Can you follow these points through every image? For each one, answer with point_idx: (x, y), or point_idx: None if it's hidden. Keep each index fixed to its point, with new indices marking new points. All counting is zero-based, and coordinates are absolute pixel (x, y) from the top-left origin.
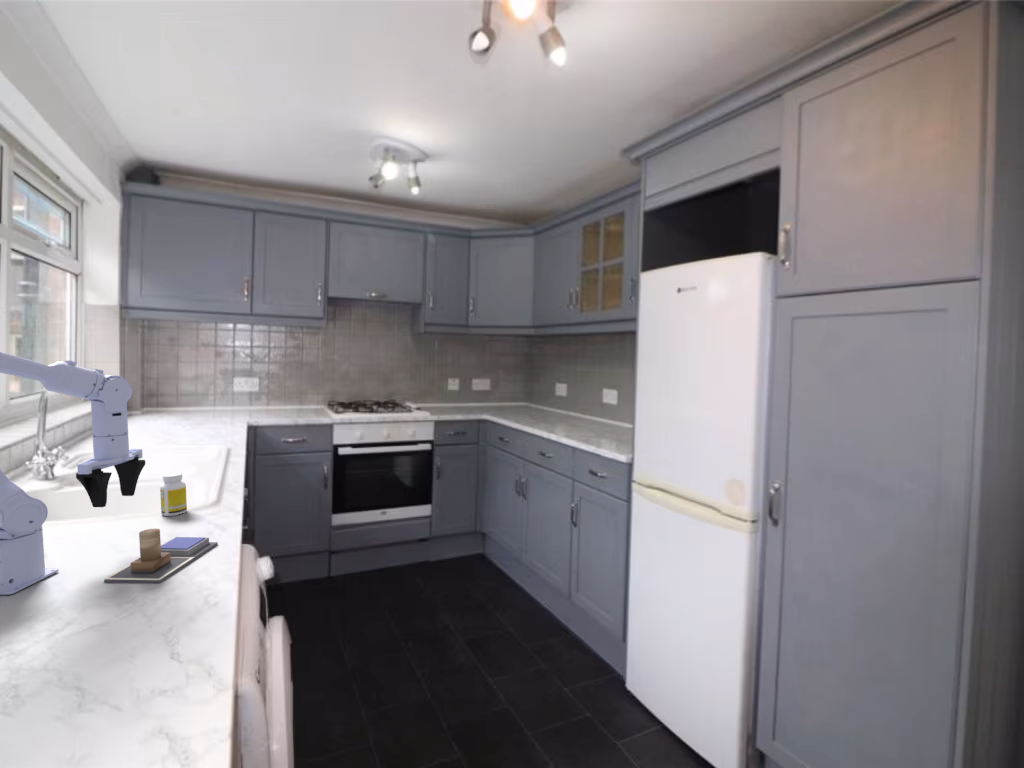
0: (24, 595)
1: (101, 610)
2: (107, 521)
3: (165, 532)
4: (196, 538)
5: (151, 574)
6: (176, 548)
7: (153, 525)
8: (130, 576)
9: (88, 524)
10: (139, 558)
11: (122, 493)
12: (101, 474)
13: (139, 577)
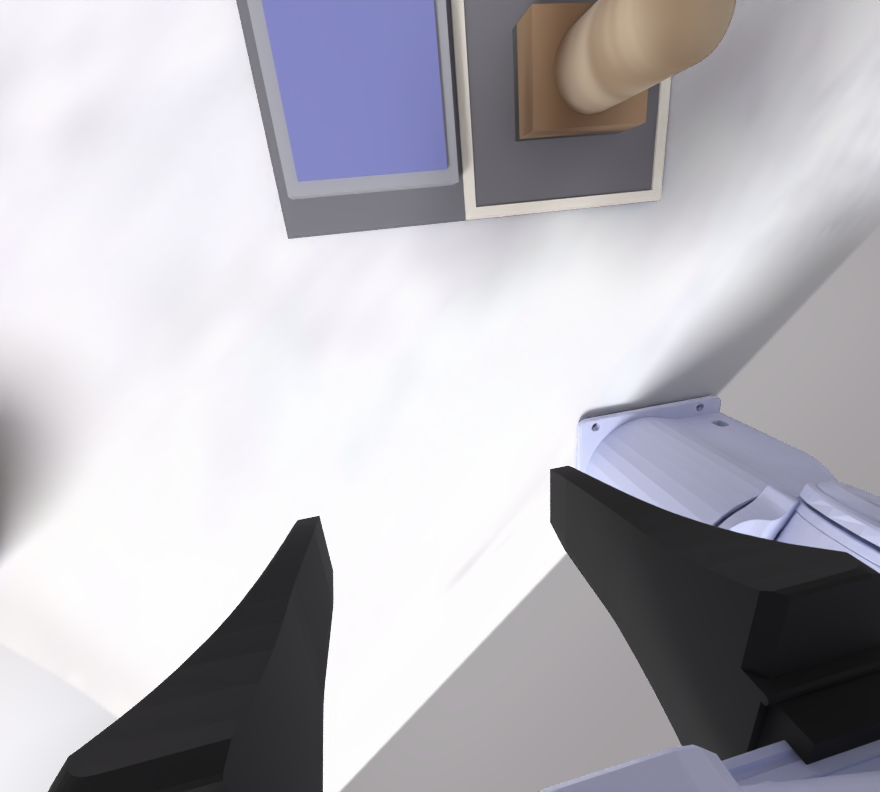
0: (714, 363)
1: (845, 17)
2: (155, 682)
3: (171, 382)
4: (287, 34)
5: None
6: (437, 53)
7: (117, 502)
8: None
9: None
10: (599, 122)
11: (330, 582)
12: (870, 603)
13: None
